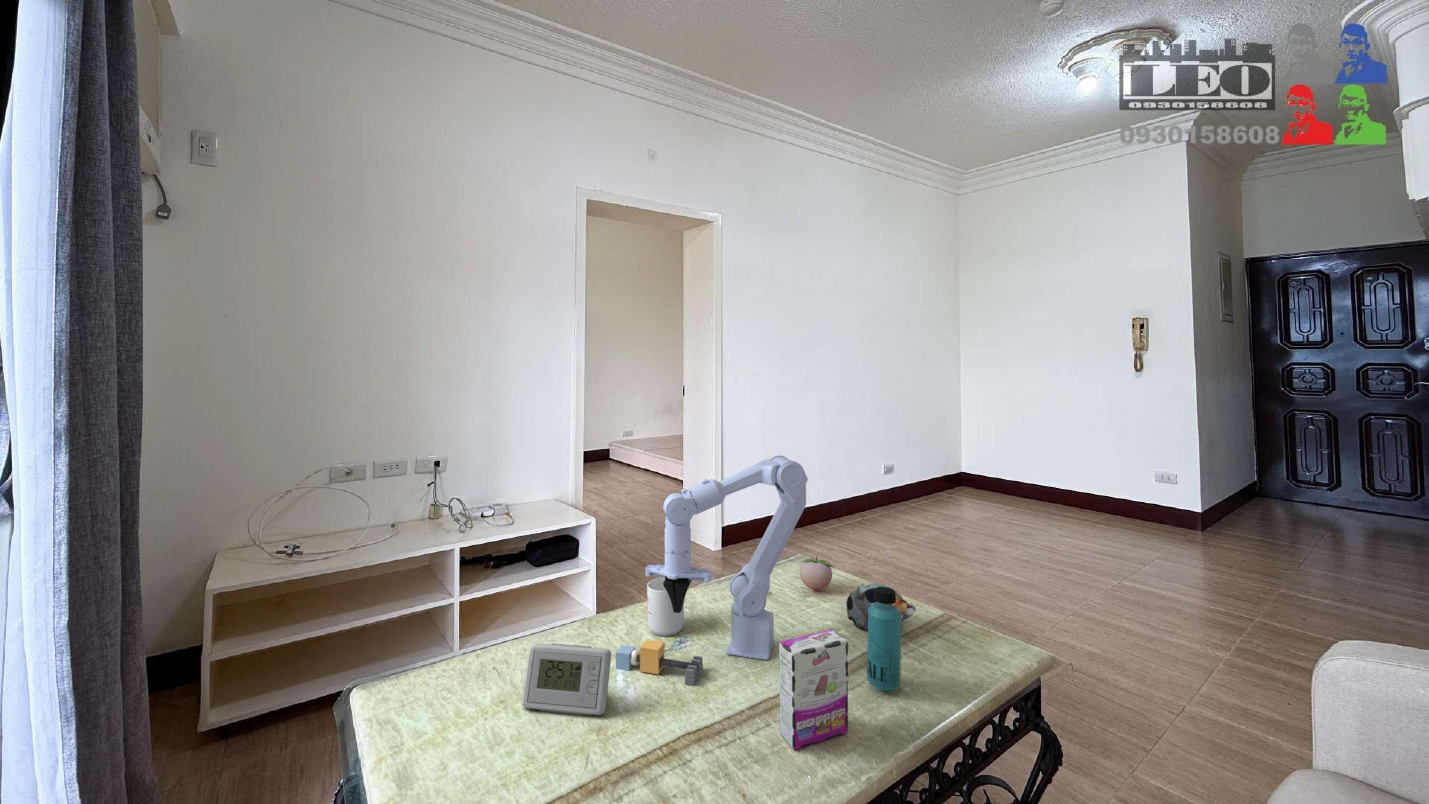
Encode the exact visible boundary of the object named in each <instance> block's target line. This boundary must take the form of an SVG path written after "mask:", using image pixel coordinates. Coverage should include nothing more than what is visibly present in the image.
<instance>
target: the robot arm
mask: <svg viewBox="0 0 1429 804" xmlns="http://www.w3.org/2000/svg"><path fill="white" fill-rule="evenodd" d="M808 480H809V478H808V476H807V474H806V472H805V470H804V468H803V466H802V465H801V463H799V462H797V461H794V460H791V459H789V458H787V457H786V456H784V455H774V456H772V457H771V458H767V459H764V460H762V461H759V462H758V463H755V464H754V465H752V466H749V467H748V468H745V469H743V470H741V471H739V472H737V473H735V474H733V475H731V476H729V477H727V478H724V479H723V480H720V481H718V480H716V479H713V478H711V479H709V480H708V479H707V478H704V479H702V480H701V481H700V482H701V483H699V484H697V485H695V486H693V487H691V488H688V489H686V488H683V489H681V493H679V492H675V493H674V492H673V493H671V494H669V495H668V496H667V497H666V498H665V500H664V502H663V504H662V510H663V512H664V514H665V521H664V526H665V528H664V564H655V565H654V564H648V565H647V566H646V567H645V571H644V573H645V577H658V578H662V577H665V581H664V582H663V586H664V587H665V589H666V591H667V593H668V595H669V597H670V600H671V603H672V607H673V612H674V613H680V612H681V611H682V608H683V602H684V603H685V598H686V595H687V592H688V589H689V587H690V585H691V583H692V581H695V582H697V581H698V582H703V583H704V584H709V583H710V582H711V580H712V571H711V570H705V569H702V568H697V567H694V566H692V529H691V520H692V519H693V516H695V515H696V516H697V515H699V514H701V513H703V512H706V511H708V510H710V509H712V508H715V507H717V506H719V505H721V504H723V502H724V500H725V498H726V497H727V496H729V495H731V494H733V493H737V492H738V491H741V490H745V489H747V488H749V487H753V486H755V485H757V484H763V485H768V486H773V487H775V488H776V491H777V494H778V496H779V499H780V503H779V504H778V507H777V509H776V510H775V513H774V514H773V516H772V518H771V520H770V522H769V524H768V526H767V528H766V530H765V531H764V534H763V536H762V538H761V540H760V542H759V544H758V546H757V547H756V549H755V552H754V553H753V554H752V557H751V559H750V561H749V562H748V563H747V564H745V565H743V566H742V568H741V569H740V571H739V573H738V574H736V575H734V576H733V578H732V579H731V580H730V583H729V592H730V595H731V596H732V597H733V603H732V605H730V606H731V607H730V609H731V610H730V611H731V613H730V614H731V615H730V618H731V619H730V620H731V621H730V624H731V625H730V627H731V628H730V629H731V631H730V633H731V634H730V635H731V636H730V643H729V645H728V647H727V649H726V650H725V654H726V655H732V656H738V657H744V658H750V659H758V660H765V661H768V660H769V659H770V656H771V654H772V651H773V648H774V645H775V640H774V639H775V637H774V635H775V634H774V633H775V632H774V631H775V629H774V628H775V625H774V624H775V617H774V612H772V611H769V610H766V609H765V608H766V606H767V596H768V593H769V591H770V586H771V585H770V584H771V583H770V582H771V574H772V573H773V571H774V568H775V567H776V565H777V563H778V560H779V559H780V557H781V555H782V553H783V551H784V549H785V547H786V545H787V544H788V541H789V539H790V538H791V535H792V533H793V532H794V529H795V527H796V526H797V524H798V522H799V519H800V518H801V516H802V514H803V512H804V510H805V507H806V505H807V482H808Z"/></svg>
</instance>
